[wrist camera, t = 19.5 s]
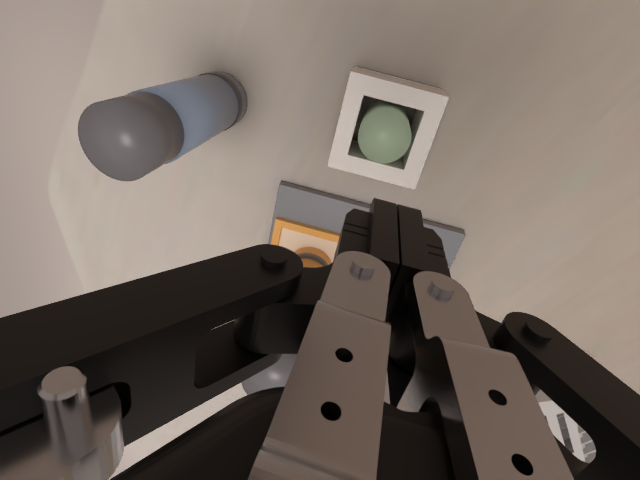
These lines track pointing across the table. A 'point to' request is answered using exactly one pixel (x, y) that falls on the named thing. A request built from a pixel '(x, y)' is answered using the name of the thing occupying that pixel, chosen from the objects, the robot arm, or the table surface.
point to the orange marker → (283, 366)
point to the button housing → (422, 129)
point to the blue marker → (158, 123)
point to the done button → (384, 132)
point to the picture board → (330, 221)
